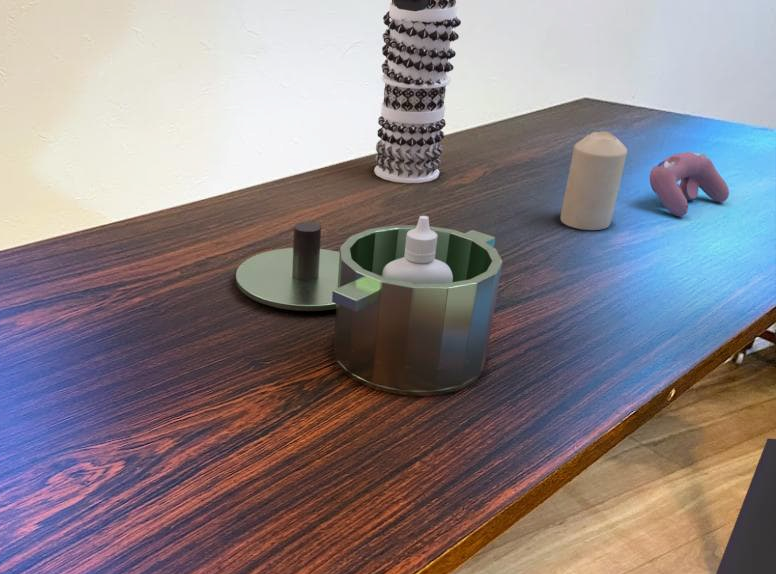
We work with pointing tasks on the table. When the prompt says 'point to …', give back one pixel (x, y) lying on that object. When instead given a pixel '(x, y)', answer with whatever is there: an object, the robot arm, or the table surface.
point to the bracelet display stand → (415, 90)
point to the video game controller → (686, 181)
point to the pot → (415, 313)
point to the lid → (293, 273)
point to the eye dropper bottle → (419, 258)
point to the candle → (593, 181)
